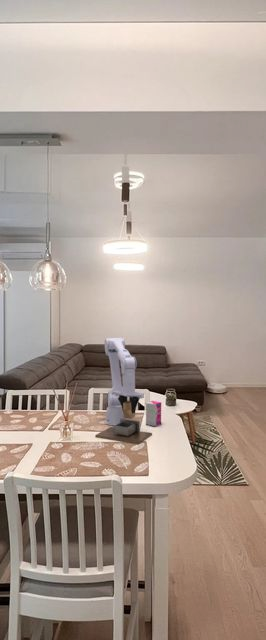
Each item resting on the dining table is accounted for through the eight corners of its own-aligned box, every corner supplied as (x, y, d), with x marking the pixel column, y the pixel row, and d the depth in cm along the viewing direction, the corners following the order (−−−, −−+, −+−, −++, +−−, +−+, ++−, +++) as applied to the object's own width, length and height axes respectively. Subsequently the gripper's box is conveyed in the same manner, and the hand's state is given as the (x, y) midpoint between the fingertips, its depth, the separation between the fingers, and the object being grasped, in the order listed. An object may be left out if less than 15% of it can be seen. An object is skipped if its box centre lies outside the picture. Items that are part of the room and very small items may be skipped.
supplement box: (155, 427, 189) (155, 404, 188) (145, 425, 192) (145, 402, 192) (161, 424, 193) (161, 401, 193) (152, 422, 197) (151, 400, 197)
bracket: (95, 437, 174) (95, 424, 174) (111, 428, 187) (110, 416, 187) (138, 444, 164) (138, 430, 164) (152, 435, 177) (151, 422, 177)
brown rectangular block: (123, 417, 177) (123, 402, 176) (127, 415, 180) (127, 400, 180) (131, 418, 175) (130, 403, 175) (135, 416, 178) (134, 401, 178)
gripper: (110, 383, 177) (111, 412, 177) (139, 385, 170) (139, 416, 170) (118, 381, 183) (118, 409, 183) (145, 383, 177) (146, 412, 177)
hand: (129, 412), depth 177 cm, fingers closed on brown rectangular block, 4 cm apart
